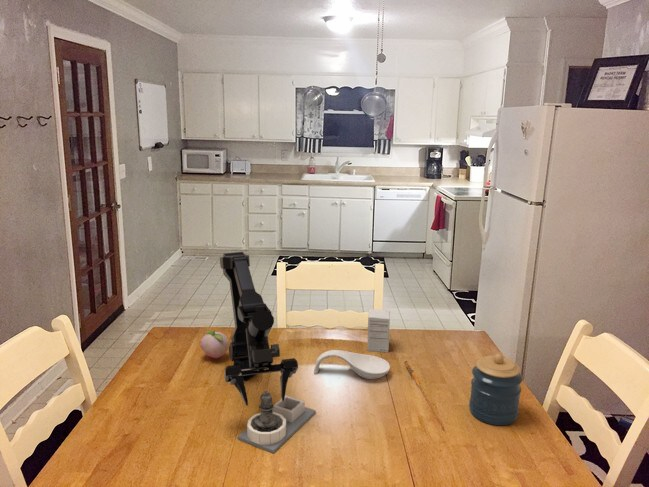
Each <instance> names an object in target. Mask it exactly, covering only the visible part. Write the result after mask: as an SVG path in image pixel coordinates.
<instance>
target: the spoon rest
mask: <svg viewBox="0 0 649 487" xmlns="http://www.w3.org/2000/svg"><path fill="white" fill-rule="evenodd" d="M334 357H335V358H338V359H339V358H340V359H341V360H343V361H344V362H345V363H346V364H347V365H348V366H350V368H351V369H352V370H353V372H355V373H356V374H357V375H358V376H360V377H361V378H363V379H366V380H376V379H379V378H382V377H384V376H386V375H387V374H388V373H389V371H390V369H391V365H390V363H389V362H388V361H387V360H385V359H384V358H381V357H379V356H376V355H372V354H371V355H370V354H363V353H357V352H353V351H346V350H341V349H331V350H327V351H324V352H322V353H321V354H320V355H319V356H318V358H317V359H316V361H315V366H314V371H313V372H314V374H315V375H317V374H318V373H319V369H320V365H321V364H322V362H323V361H324V360H326V359H328V358H334Z"/></svg>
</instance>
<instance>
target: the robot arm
mask: <svg viewBox="0 0 649 487" xmlns="http://www.w3.org/2000/svg"><path fill="white" fill-rule="evenodd" d="M219 264H220V265H219V266H220V268H221V269H222V273H223V276H224V277H225V278H226V279H227V280H228V281H229V288H230V296H231V297H230V298H231V303H232V312H233V321H234V327H235V328H234V330H233V332H232V335H231V339H230V340H231V342H230V343H229V345H228V356H229V357H230V360H231V362H233V365H226V367H225V368H224V382H225V383H230V385H231V386H232V385H233V386H235V388H236V389H237V391H238V392H239V395H240V396H241V398H242V400H243V402H244V404H245V406H246V407H249V400H248V399H249V398H248V394H247V392H246V386H245V382H247V381H249V380H250V379H251V378H253V377H254V376H256V375H261V374H270V373H276V372H277V373H278V372H280V374H281V375H280V377H279V381H280V382H279V383H280V396H281V397H280V399H282V401H284V398H285V395H286V393H287V384H288V380H289V379H290V378H292V376H293V375H294V374H297V372H298V369H299V363H298V360H297V359H296V358H294V357H293V358H285V359H283V358H282V359H281V361H280V363H278V364H277V363H276V364H273V363H274V358H278V357H280V356H281V352H280V344H279V343H276V344H271V345H270V341H269V336H268V335H269V334H270V332H271V330H272V328H273V326H274V323H275V318H274V316H273V314H272V311H271V310H270V308H269V306H267V303H265V302H264V299H263V296H262V295H261V294H260V293H259V292H257V291H256V289H255V285H254V282H253V278H252V274H251V270H250V268H249V267H250V266H251V262H250V255H249V254H246V253H244V251H236V252H226V253H225V252H224V253H223V254H222V256H221V257H219ZM244 381H245V382H244Z"/></svg>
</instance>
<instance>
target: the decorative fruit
mask: <svg viewBox="0 0 649 487" xmlns="http://www.w3.org/2000/svg"><path fill="white" fill-rule="evenodd" d="M204 334H205V335H204V336H203V337H202V338H201V340H200V348H201V350H202V351H203V353H204V354H205V355H206V356H208V357H210V358H213V359H218V358H222V357H223V356H224V355H225V354H226V352H227V351H228V350H229V346H230V343H229V342H230V341H229V339H228V336H226V334H224V333H222V332H219V331H215V330H209V331H206V332H205V333H204Z"/></svg>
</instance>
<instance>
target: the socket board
mask: <svg viewBox="0 0 649 487" xmlns="http://www.w3.org/2000/svg"><path fill="white" fill-rule="evenodd" d="M273 406H274V408H273V409H272V411H273V414H274V415H276V416H277V417H278V423H277V425H276V427H275V428H276V429H277V430H274V431H271V432H260V431H257V430H258V427H257V425H256V423H255V419H256V418H257V417H258V416H259V415H260V412H259V413H255V414H253V415H252V416H251V417H249V418H248V420H247V424H246V429H245V430H244V431H242V432H241V433H240V434H239V435H237V440H239V441H241V442H244V443H247V445H251V446H254V447H256V448H258V449H262V450H264V451H266V452H268V453H272V454H275V453H276V452H277V451H278V450H279V449H280V448H281V447H282V446H283V445H284V444H285V443H286V442H287V441H288V440H289V439H290V438H291V437H292V436H293V435H295V433H296V432H298V431H299V429H301V428H302V427H303V426H304V425H305V424H306V423H307V422H308V421H309V420H310V419H311V418H312V417H313V416H314V415H315V414H317V413H316V412H317V411H316V410H315V409H313V408H310V407H307V406H306V402H305V401H304V400H302V399H298V398H296V397H292V396H289V395H286V394H285V398H284V401H282V398H280V399H279V400H278V401H276V403H275V404H273Z"/></svg>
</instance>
